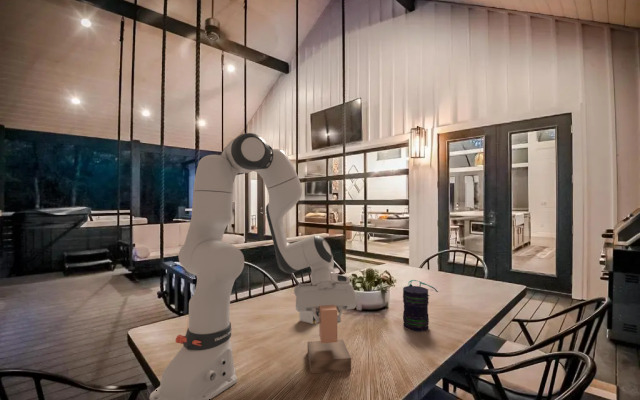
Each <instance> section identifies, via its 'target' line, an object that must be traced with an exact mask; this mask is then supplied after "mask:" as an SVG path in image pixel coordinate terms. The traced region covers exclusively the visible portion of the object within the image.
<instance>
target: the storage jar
mask: <svg viewBox="0 0 640 400" xmlns="http://www.w3.org/2000/svg"><path fill="white" fill-rule="evenodd" d="M428 295H429V289H428V288H426V287H422V286H421V287H420V285H419V286H418V285H412V286H409V285H407V286H403V288H402V302H403V313H402V315H403V316H402V321H403V328H405V329H406V330H409V331H412V332H418V333H423V332H427V331H428V330H429V323H430V321H429V320H430V318H429V313H428V312H429V307H428V306H429V296H428Z"/></svg>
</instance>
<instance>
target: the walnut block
mask: <svg viewBox="0 0 640 400" xmlns="http://www.w3.org/2000/svg"><path fill="white" fill-rule="evenodd" d="M307 358H308V364H309V371H310V374H323V373H333V372H334V373H335V372H348V371H350V372H351V371H352V358H351V355H350V353H349V350H348V347H347V346H346V343H345V340H344V339H337V342H333V343H321V340H317V341H316V340H313V341H307Z"/></svg>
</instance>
